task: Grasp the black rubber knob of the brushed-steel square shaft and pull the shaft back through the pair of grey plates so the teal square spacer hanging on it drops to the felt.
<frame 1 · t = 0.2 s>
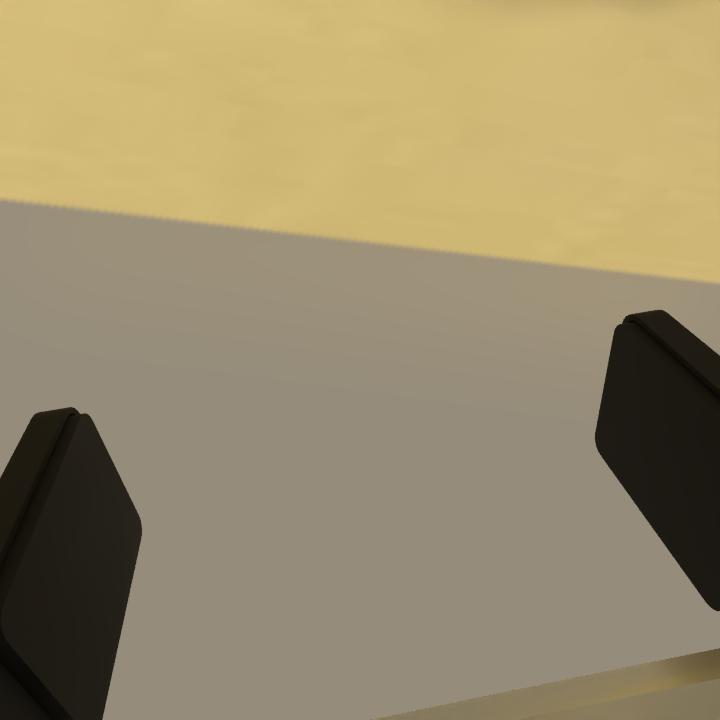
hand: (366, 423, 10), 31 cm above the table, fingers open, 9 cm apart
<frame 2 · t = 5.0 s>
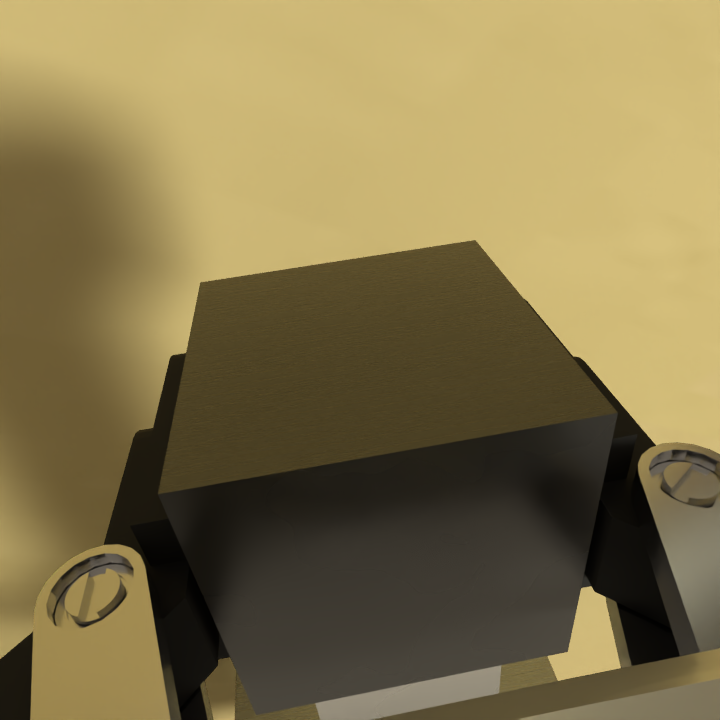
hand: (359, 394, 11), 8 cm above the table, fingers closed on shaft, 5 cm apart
pair of grey plates: (377, 617, 30), on the table
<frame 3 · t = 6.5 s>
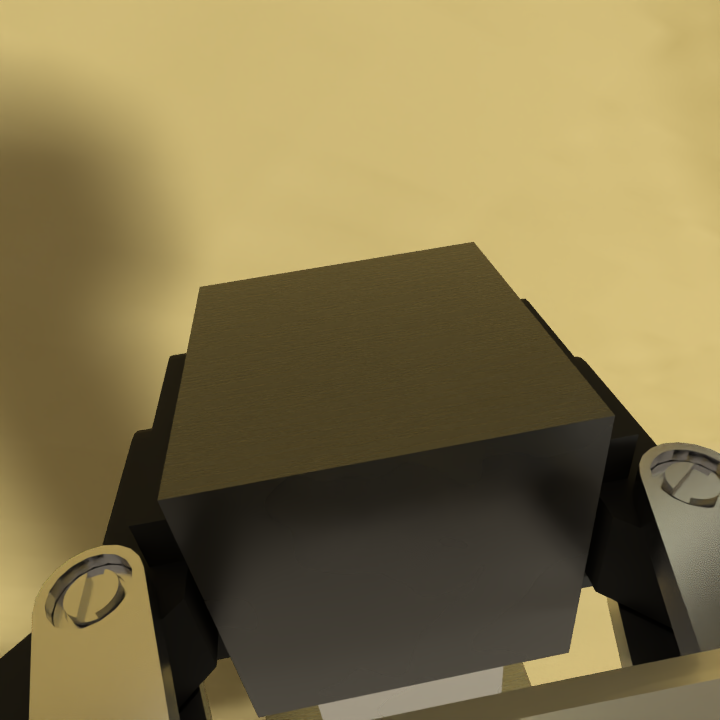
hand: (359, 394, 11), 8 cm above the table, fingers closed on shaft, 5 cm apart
pair of grey plates: (389, 663, 33), on the table
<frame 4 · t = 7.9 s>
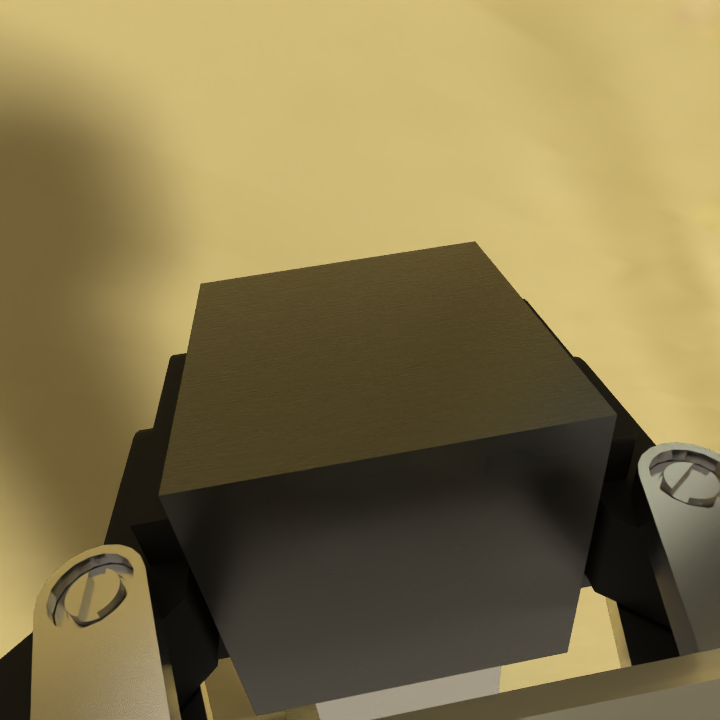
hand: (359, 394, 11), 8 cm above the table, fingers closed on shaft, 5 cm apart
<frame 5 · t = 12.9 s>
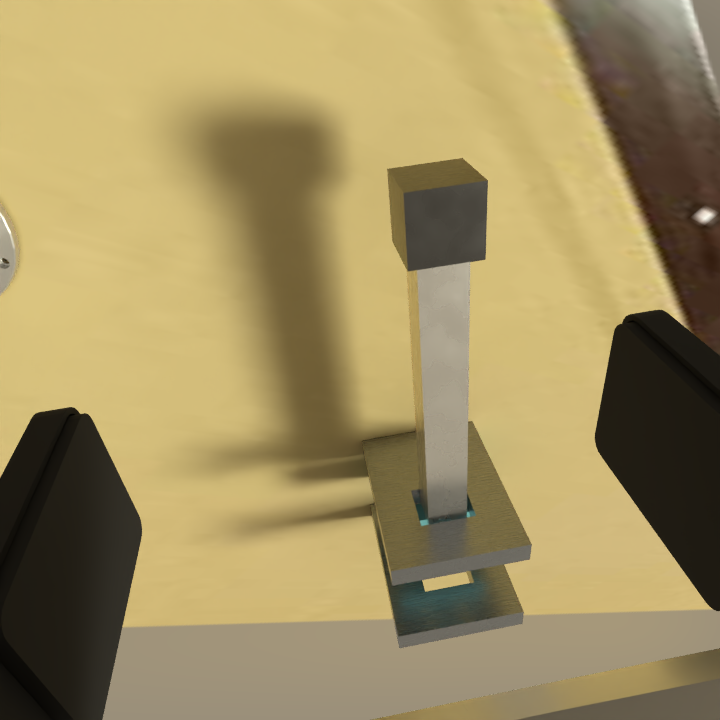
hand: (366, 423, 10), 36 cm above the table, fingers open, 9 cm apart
pair of grey plates: (419, 471, 63), on the table
shaft: (439, 376, 43), point 10 cm above the table, slide at 12.0 cm
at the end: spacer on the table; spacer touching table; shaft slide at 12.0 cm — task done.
